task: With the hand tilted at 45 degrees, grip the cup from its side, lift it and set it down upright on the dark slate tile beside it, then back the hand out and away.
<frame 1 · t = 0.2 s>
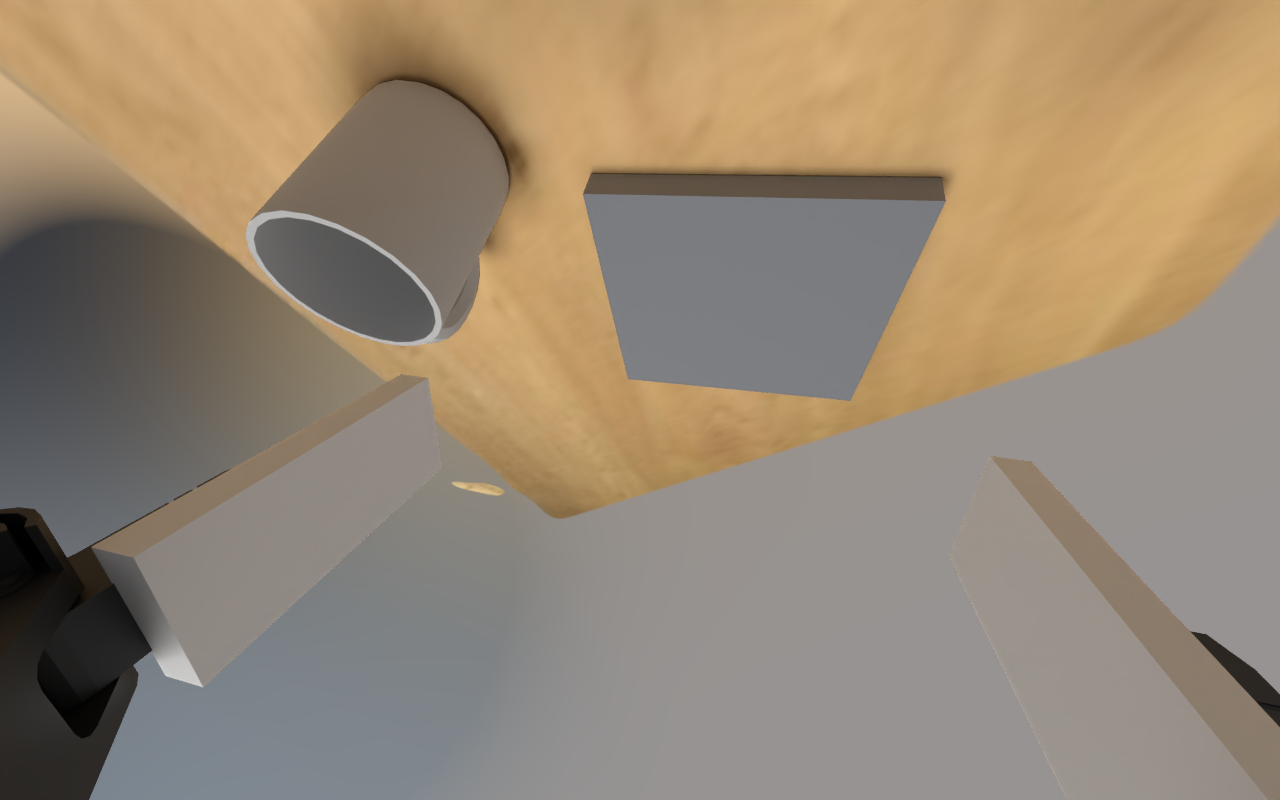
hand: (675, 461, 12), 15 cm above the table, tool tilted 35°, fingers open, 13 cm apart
cup: (454, 178, 25), on the table
slate tile: (743, 295, 28), on the table
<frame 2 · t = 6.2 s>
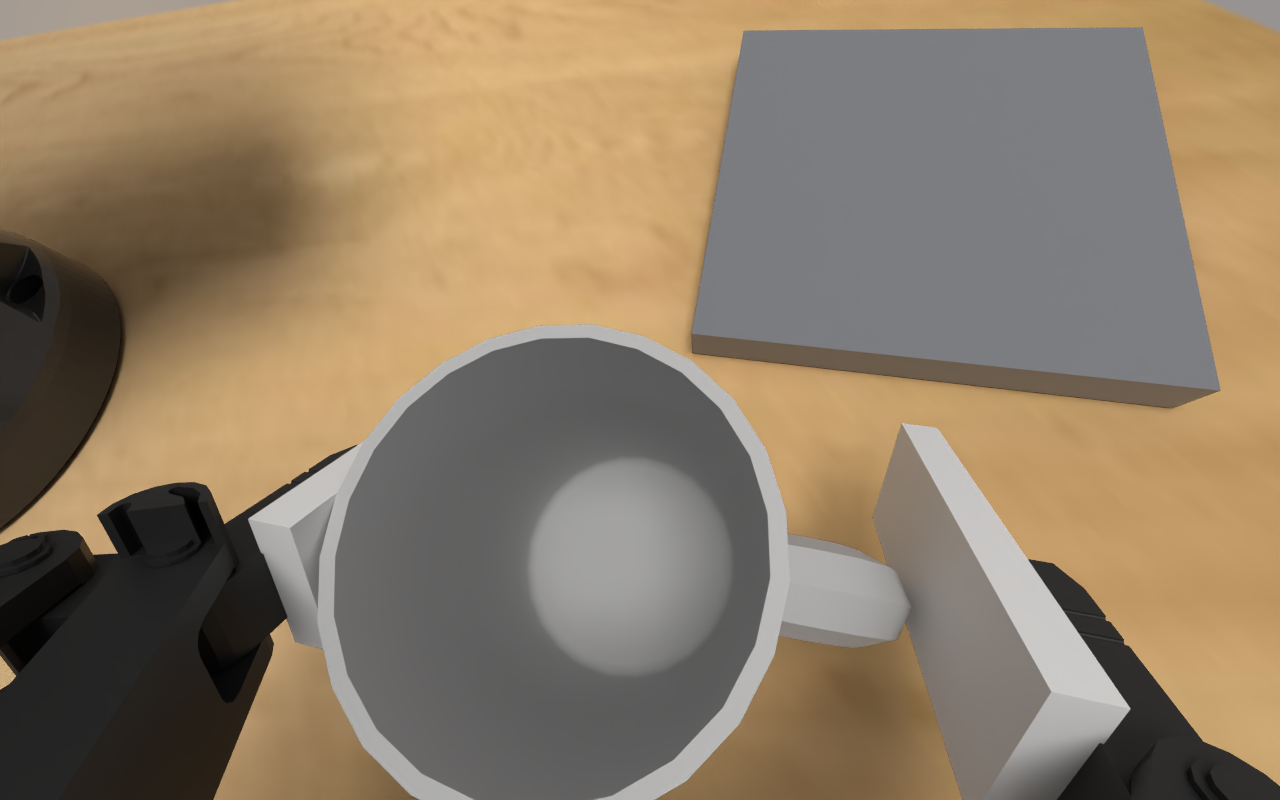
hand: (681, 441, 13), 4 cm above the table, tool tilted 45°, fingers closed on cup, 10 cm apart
cup: (672, 567, 16), on the table, touching gripper
slate tile: (913, 201, 19), on the table
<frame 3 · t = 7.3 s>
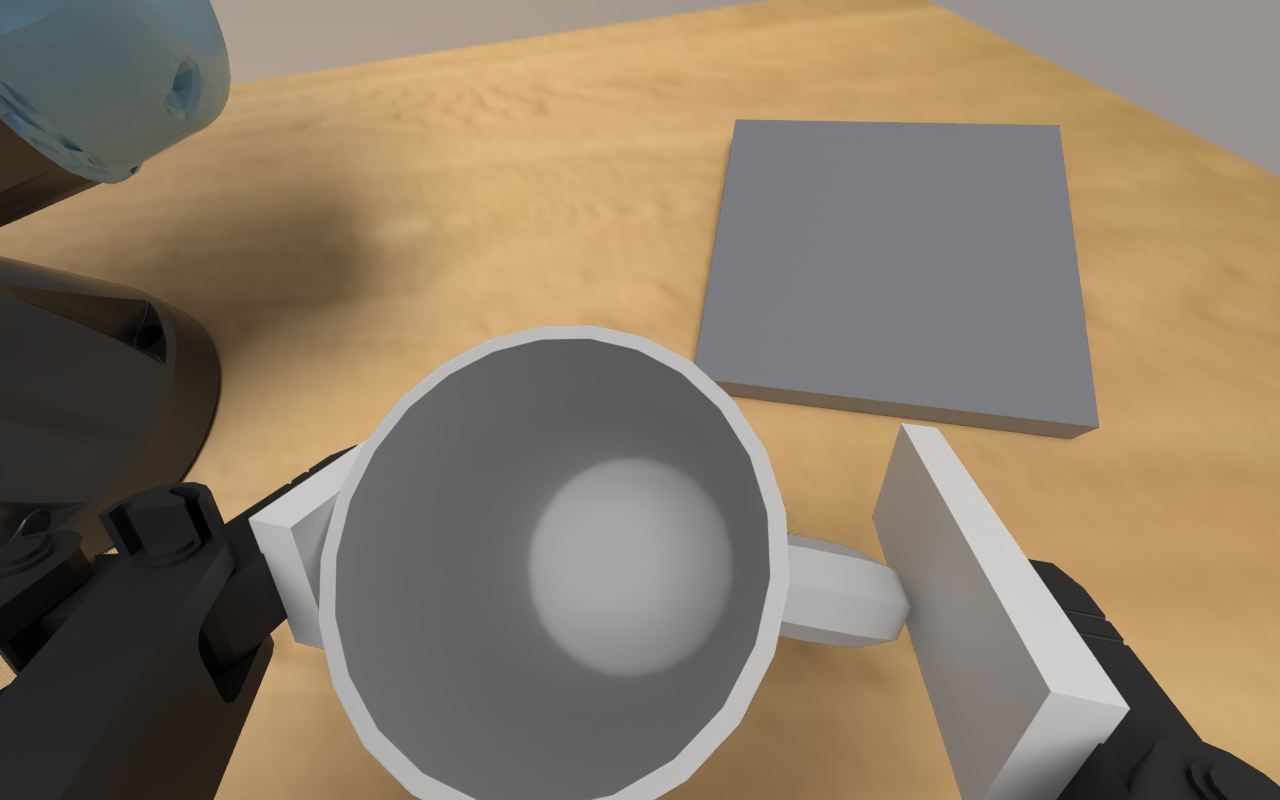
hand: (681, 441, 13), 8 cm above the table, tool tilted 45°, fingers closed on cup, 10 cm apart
cup: (673, 567, 16), point 4 cm above the table, touching gripper
slate tile: (874, 266, 23), on the table
when the fingers open (7 cm above the table, at t = 12.6 s): cup drops 1 cm, resting on slate tile.
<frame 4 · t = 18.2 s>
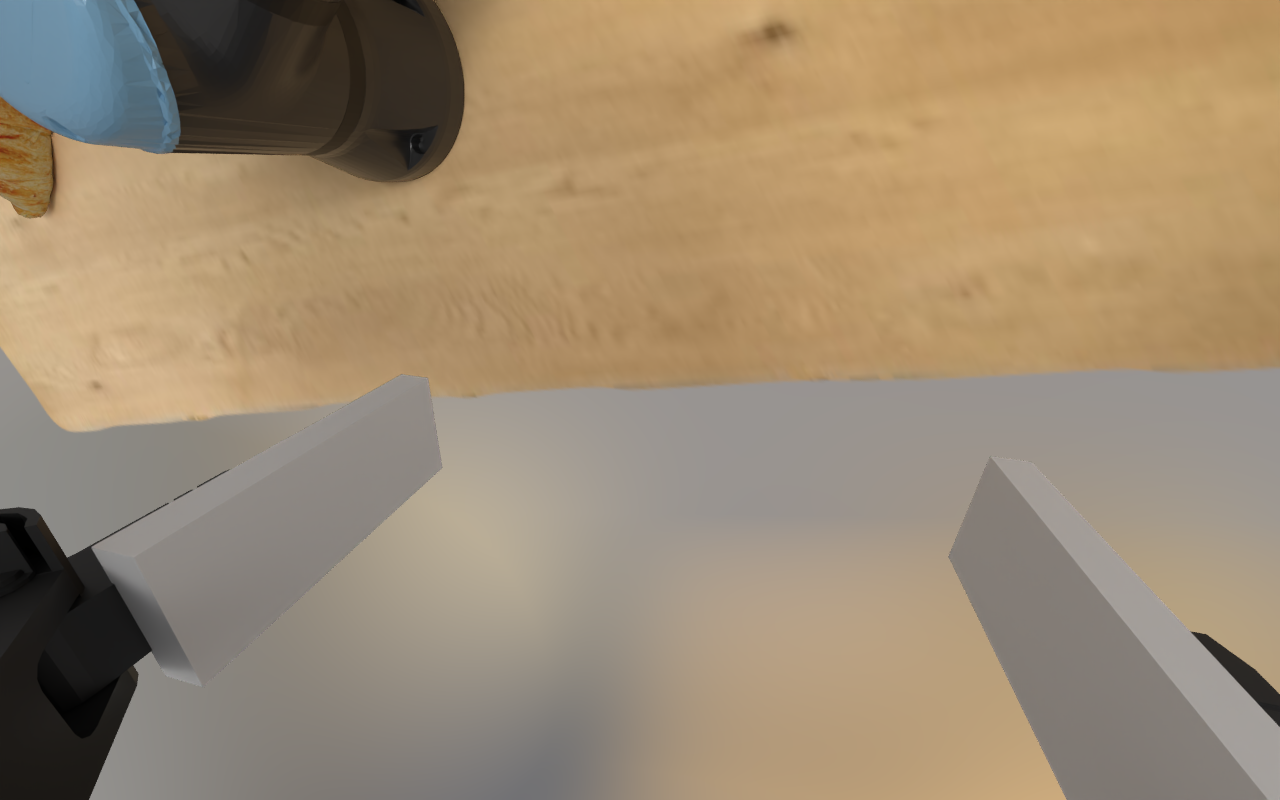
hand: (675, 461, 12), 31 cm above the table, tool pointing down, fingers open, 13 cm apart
croissant: (14, 105, 48), on the table
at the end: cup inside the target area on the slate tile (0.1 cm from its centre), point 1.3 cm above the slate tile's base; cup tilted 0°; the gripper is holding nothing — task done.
